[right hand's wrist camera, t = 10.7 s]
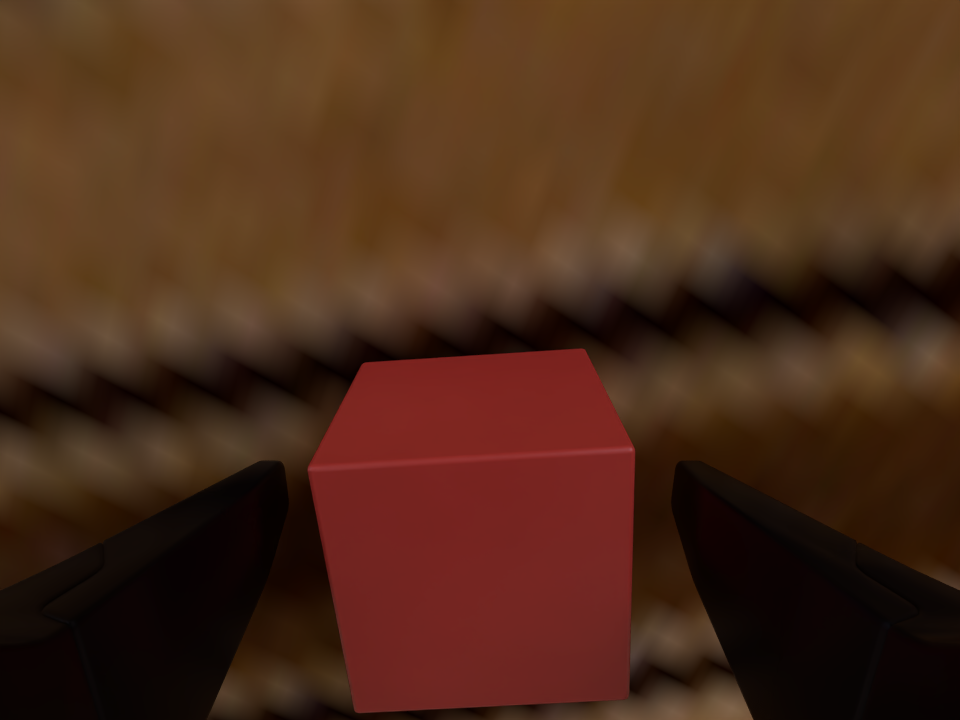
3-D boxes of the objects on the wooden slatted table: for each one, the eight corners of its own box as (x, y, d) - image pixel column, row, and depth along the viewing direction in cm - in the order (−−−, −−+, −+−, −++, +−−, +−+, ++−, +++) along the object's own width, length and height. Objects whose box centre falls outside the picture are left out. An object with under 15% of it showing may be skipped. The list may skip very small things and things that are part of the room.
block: (585, 347, 11) (636, 447, 8) (586, 540, 13) (630, 702, 9) (361, 361, 12) (304, 467, 8) (389, 551, 13) (353, 715, 9)
